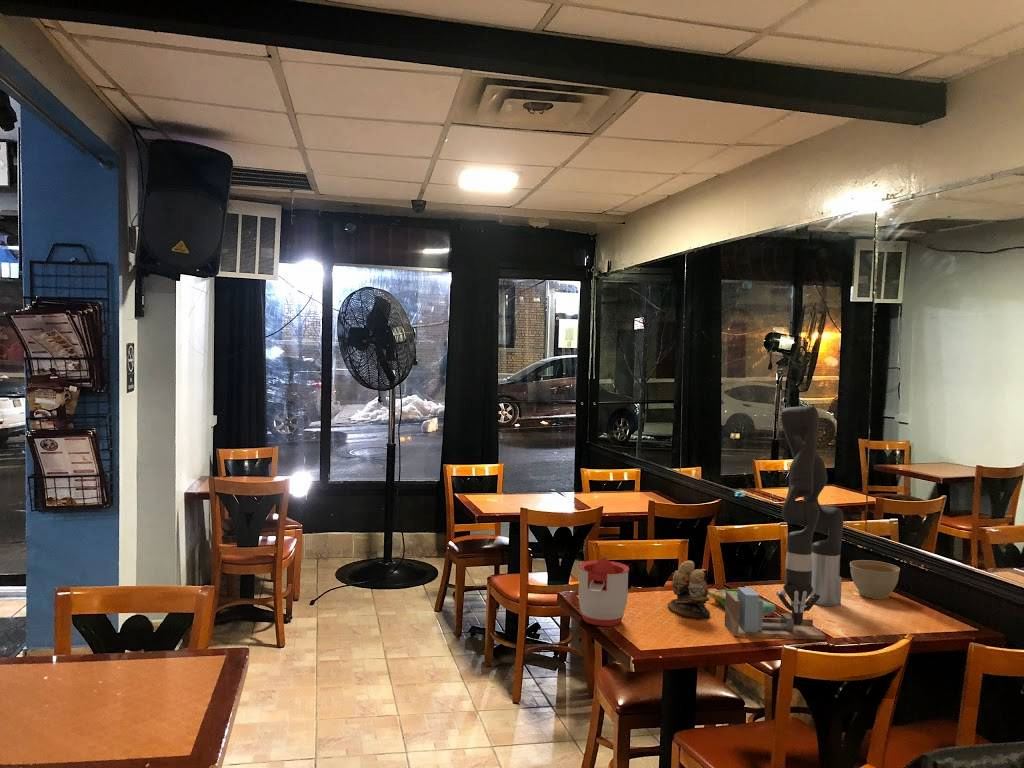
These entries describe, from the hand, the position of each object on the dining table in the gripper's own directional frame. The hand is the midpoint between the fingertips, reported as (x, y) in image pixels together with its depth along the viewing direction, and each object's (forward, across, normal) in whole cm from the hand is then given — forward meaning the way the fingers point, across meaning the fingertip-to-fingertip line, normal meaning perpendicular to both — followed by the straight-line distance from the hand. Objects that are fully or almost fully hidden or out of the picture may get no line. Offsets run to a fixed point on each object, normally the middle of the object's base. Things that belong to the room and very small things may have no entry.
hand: (797, 623), depth 228 cm
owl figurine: (+3, +28, -17) cm, 33 cm away
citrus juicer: (+3, +59, -5) cm, 59 cm away
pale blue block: (+2, +15, 0) cm, 15 cm away
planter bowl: (+3, -44, -42) cm, 61 cm away
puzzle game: (+3, +10, -22) cm, 25 cm away
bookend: (+1, +8, 0) cm, 8 cm away
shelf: (+3, +7, 0) cm, 7 cm away
